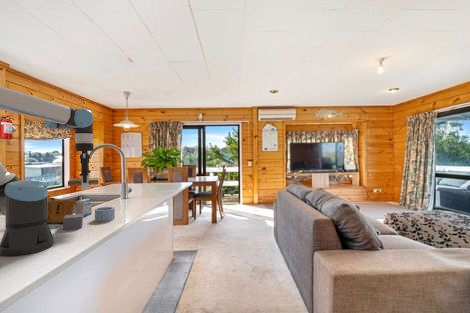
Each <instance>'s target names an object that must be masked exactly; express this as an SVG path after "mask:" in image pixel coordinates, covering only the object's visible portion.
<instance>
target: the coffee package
mask: <svg viewBox="0 0 470 313" xmlns="http://www.w3.org/2000/svg"><path fill="white" fill-rule="evenodd" d="M76 201H77V200H68V199H63V198H56V197H50V196H48V224H49V223H51V224H52V223H63V218H64V217H65V215H74V213H73V212H74V210H75V209H74V208H75V204H76Z"/></svg>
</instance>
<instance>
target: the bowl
mask: <svg viewBox="0 0 470 313" xmlns="http://www.w3.org/2000/svg"><path fill="white" fill-rule="evenodd" d="M115 211H116V209H115V207H113V206H103V207H97V208H95V209H94V222H110V221H113V220H115V219H116V218H115V217H116V216H115Z"/></svg>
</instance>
